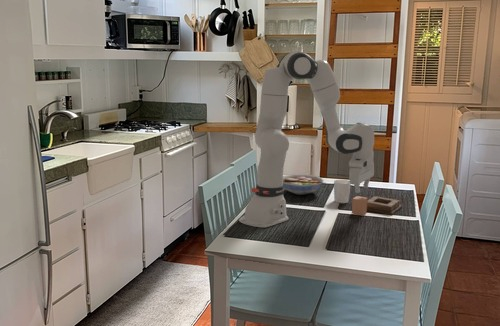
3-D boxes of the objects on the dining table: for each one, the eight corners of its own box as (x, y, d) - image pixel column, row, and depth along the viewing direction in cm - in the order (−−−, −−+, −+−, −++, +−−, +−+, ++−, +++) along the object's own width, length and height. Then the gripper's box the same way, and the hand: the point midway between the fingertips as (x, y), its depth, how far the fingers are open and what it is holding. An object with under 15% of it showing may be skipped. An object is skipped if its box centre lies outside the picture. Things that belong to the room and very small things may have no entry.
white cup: (348, 199, 235) (349, 179, 233) (350, 204, 227) (351, 183, 225) (332, 198, 235) (333, 179, 233) (333, 203, 228) (334, 183, 226)
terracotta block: (362, 215, 210) (363, 200, 209) (351, 213, 213) (352, 198, 212) (366, 212, 214) (367, 197, 213) (356, 210, 217) (356, 196, 216)
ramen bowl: (325, 188, 254) (325, 173, 252) (325, 200, 232) (326, 184, 230) (278, 186, 258) (278, 171, 256) (274, 198, 235) (274, 182, 234)
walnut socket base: (392, 215, 211) (392, 207, 211) (362, 209, 219) (362, 202, 218) (401, 207, 223) (402, 200, 222) (373, 202, 230) (373, 195, 230)
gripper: (365, 155, 219) (363, 184, 222) (347, 163, 202) (345, 194, 205) (378, 156, 215) (376, 185, 218) (361, 164, 199) (359, 196, 202)
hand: (361, 190), depth 212 cm, fingers open, 8 cm apart
